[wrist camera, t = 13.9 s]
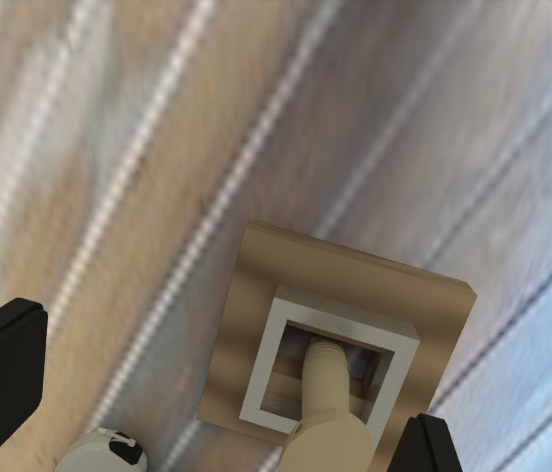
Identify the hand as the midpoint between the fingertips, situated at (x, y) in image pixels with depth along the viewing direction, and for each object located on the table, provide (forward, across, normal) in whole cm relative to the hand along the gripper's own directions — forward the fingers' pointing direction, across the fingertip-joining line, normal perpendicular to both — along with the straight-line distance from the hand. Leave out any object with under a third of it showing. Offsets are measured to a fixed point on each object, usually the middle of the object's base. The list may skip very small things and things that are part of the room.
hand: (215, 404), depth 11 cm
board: (+29, -6, +14) cm, 33 cm away
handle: (+29, -6, +14) cm, 33 cm away
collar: (+26, -6, +14) cm, 30 cm away
